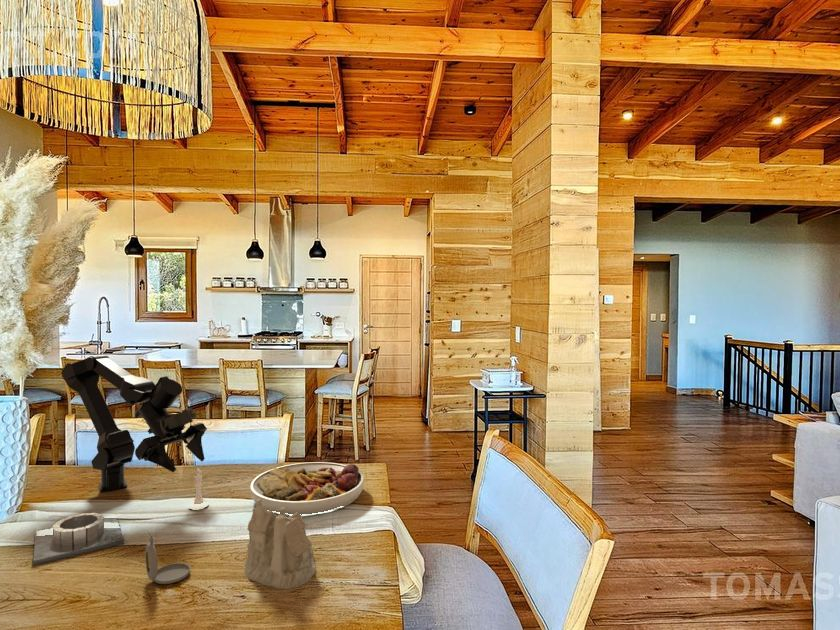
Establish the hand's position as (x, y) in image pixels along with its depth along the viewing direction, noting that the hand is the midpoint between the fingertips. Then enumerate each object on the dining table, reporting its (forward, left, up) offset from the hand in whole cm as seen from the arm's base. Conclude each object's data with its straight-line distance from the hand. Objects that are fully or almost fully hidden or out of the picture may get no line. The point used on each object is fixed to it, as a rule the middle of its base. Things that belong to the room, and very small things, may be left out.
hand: (189, 465), depth 135 cm
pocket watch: (+35, -11, -11) cm, 38 cm away
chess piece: (+3, +2, -11) cm, 11 cm away
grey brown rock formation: (+43, +10, -11) cm, 46 cm away
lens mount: (+7, -24, -10) cm, 27 cm away
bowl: (+13, +28, -11) cm, 32 cm away
